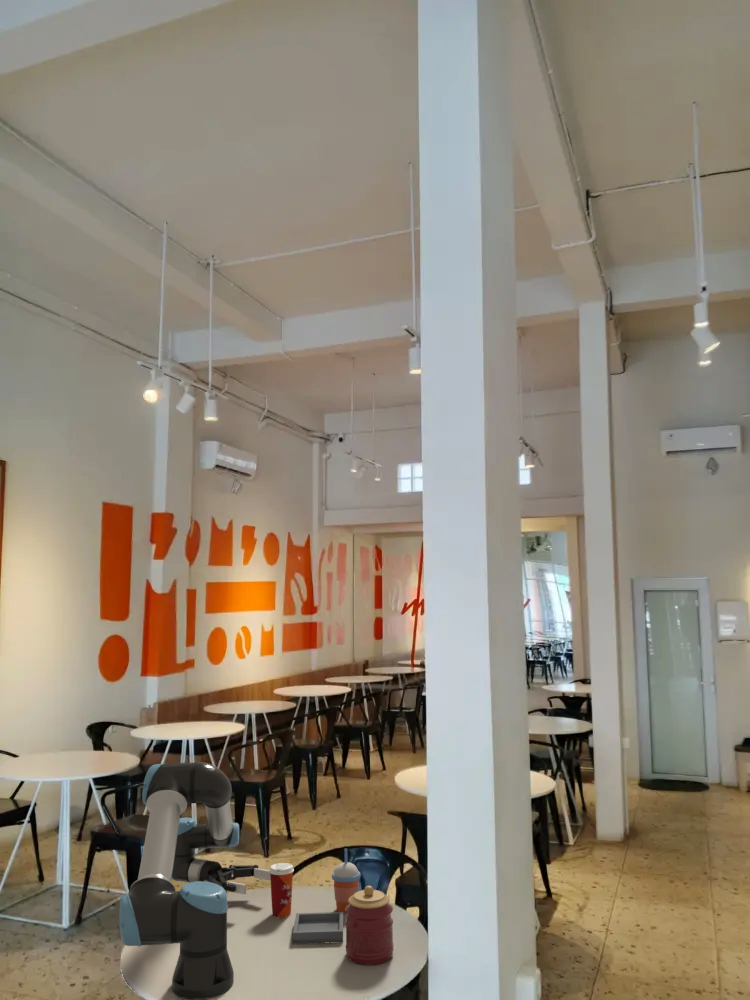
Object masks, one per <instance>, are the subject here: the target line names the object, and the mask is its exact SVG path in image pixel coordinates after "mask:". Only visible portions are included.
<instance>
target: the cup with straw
mask: <svg viewBox="0 0 750 1000" xmlns="http://www.w3.org/2000/svg"><path fill="white" fill-rule="evenodd" d="M361 877H362V876H361V872H360V871H359V870H358V868H357V866H356V865H355V864H354V863H352V862H348V848H346V847H345V848H344V862H340V863H339V864H337V866H336V867H335V868H334V871H333V872H332V873H331V879H332V880H333V891H334V900H335V906H336V912H343V914H347V913H346V911H345V909H346V907H347V906H348V905H349V902H348V899H349V898H350V897H351V896H352V895H354V894H355V893H356V892H358V891H359V889H360V888H359V887H360V882H359V880H360V879H361Z"/></svg>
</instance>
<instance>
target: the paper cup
mask: <svg viewBox="0 0 750 1000" xmlns="http://www.w3.org/2000/svg"><path fill="white" fill-rule="evenodd" d="M268 870H269V873H270V879H271V880H270V896H271V911H272V917H274V916H275V917H274V918H277V917H283V918H286V917H285V916H287V917H289V916H290V915H291V913H292V901H293V900H292V897H293V879H294V878H293V876H294V871H295V869H294V866H293V864H292V863H289V862H279V863H274V864H272V865H270V868H269V869H268ZM288 915H289V916H288Z"/></svg>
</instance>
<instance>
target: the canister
mask: <svg viewBox="0 0 750 1000" xmlns="http://www.w3.org/2000/svg"><path fill="white" fill-rule="evenodd" d="M348 902H349V905H348V906H347V907H346V909H345V911H346V913H345V914H346V915H347V917H346V919H345V921H344V922H345V933H346V935H345V937H346V938H345V939H346V942H345V943H346V944H345V953H346V957H347V960H349V961H350V962H353V963H355V964H358V965H366V966H367V965H368V966H373V965H374V966H375V965H380V964H383V963H385V961H386V962H387V961H389V960H391V958H392V957H393V955H394V939H393V938H394V935H393V929H394V928H393V924H394V920H393V917H392V912H393V910H394V908H393V906H392V904H391V903H390V896H388V894H385V893H384V892H383V891H381V890H379V889H378V890H377V889H374V888H373V886H371V885H366V886H365V887H364V889H362V890H358V892H356V893H355V894H354V895H352V896H351V897H350V898H349V899H348Z"/></svg>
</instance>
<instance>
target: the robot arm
mask: <svg viewBox="0 0 750 1000" xmlns="http://www.w3.org/2000/svg"><path fill="white" fill-rule="evenodd" d="M232 794H233V789H232V783H231V781H230V779H229V777H228V776H227V775H226V774H225V773H224V771H222V770H221V769H219V767H217V766H215V765H214V764H211V763H208V762H204V761H197V762H173V763H172V762H171V763H170V762H169V763H167V762H163V763H156V764H153V765H151V766H150V767H149V768H148V770H147V771H146V774H145V777H144V780H143V787H142V795H141V796H142V803H143V805H145V806H146V809H147V811H148V812H149V817H148V820H147V821H148V822H147V827H146V831H145V839H144V843H143V850H142V854H141V861H140V866H139V871H138V876H137V880H135V881H134V882H133V883H132V884H131V886H130V887H129V890H128V891H129V892H128V893H125V894H122V895H121V897H120V901H119V932H120V939H121V943H122V944H123V946H126V947H139V948H140V947H142V946H156V945H170V944H179V956H178V959H177V962H176V965H175V968H174V970H173V975H172V979H171V991H172V990H173V991H172V993H173V992H174V993H175V994H174V995H175V996H177V995H178V997H179V998H181V999H187V1000H202V999H209V998H213V997H217V996H219V995H221V994H224V993H225V992H228V991H229V989H230V988H231V987H232V986H233V985H234V981H235V980H234V977H235V976H234V975H235V974H234V968H233V965H232V962H231V958H230V955H229V953H228V952H229V951H228V910H229V906H228V893H227V892H229V893H235V894H240V895H244V896H245V895H247V884H246V883H241V882H240V883H239V882H235V881H232V880H237V878H249V877H254V879H255V878H256V879H260V880H261V879H262V880H267V881H271V879H270V873H269V870H270V869H263V868H259V865H257V864H254V865H252V864H250V865H237V864H236V865H235V864H230V865H229V866H228V867H226V866H223V867H222V865H221V864H220V862H218V861H215V860H209V859H204V858H199V857H198V858H197V857H195V854H196V850H197V849H198V850H199V849H218V848H219V849H222V848H225V849H227V848H233V847H237V846H239V844H240V843H239V842H240V824H239V823H238V822H233V820H232V819H233V818H232V810H231V803H230V801H231V798H232ZM188 804H189V805H190V804H202V805H204V806H205V811H206V812H205V813H206V819H207V823H203V824H197V822H196V819H195V818H193V817H181V815H182V814H184V813H185V811H186V809H187V807H188ZM172 880H174V881H176V882H184V883H185V884H183V885H182V886H181V889H180V890H178V891H177V890H176V887H175V885H174V883H173V882H172Z"/></svg>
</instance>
